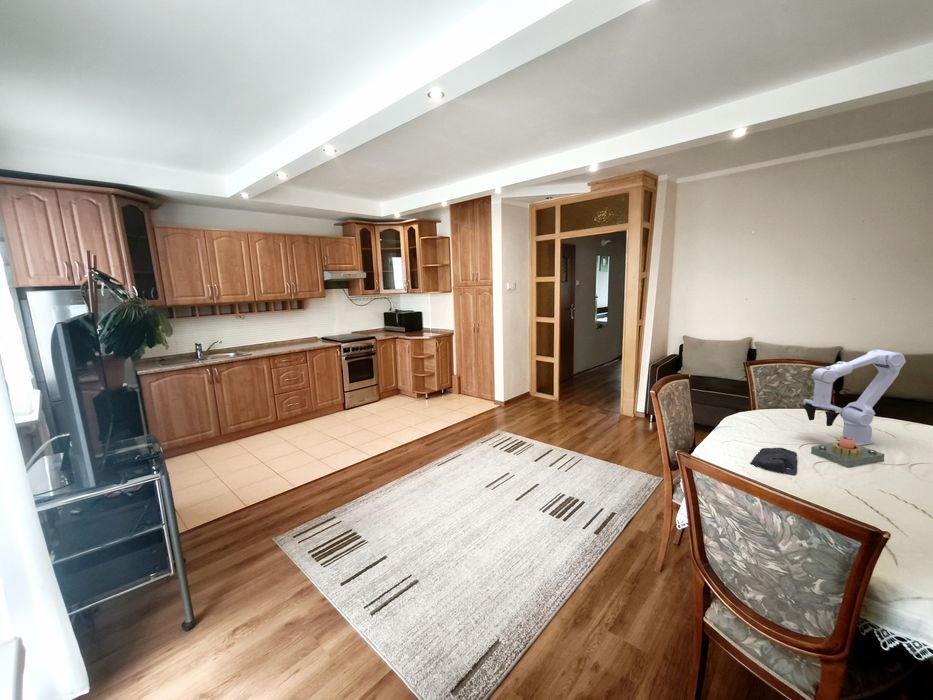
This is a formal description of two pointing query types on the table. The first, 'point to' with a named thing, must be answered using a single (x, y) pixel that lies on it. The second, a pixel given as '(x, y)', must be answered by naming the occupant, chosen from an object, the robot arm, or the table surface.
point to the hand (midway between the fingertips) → (820, 422)
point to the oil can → (847, 442)
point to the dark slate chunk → (776, 460)
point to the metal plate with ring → (847, 454)
